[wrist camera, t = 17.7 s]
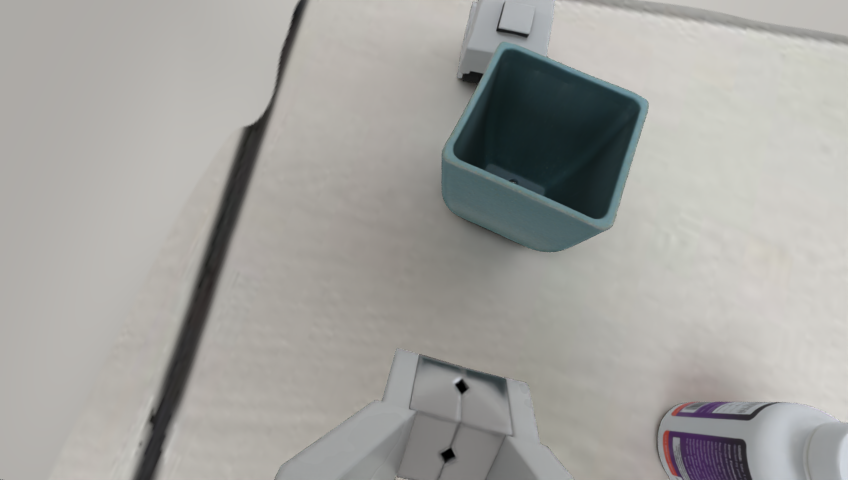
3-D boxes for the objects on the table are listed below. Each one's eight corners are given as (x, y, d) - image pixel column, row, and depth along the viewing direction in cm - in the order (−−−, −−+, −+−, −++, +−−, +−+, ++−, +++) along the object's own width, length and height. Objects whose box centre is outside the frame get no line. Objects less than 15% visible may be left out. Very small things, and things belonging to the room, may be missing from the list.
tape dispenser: (454, 81, 35) (457, 70, 25) (472, -4, 33) (482, -52, 23) (521, 95, 35) (548, 89, 25) (542, 10, 33) (581, -31, 23)
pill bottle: (728, 525, 22) (963, 615, 13) (641, 466, 23) (805, 512, 14) (753, 435, 24) (973, 458, 15) (671, 383, 25) (833, 375, 16)
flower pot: (542, 284, 26) (613, 232, 18) (423, 229, 27) (438, 156, 19) (578, 181, 30) (652, 97, 21) (471, 135, 30) (501, 37, 22)
